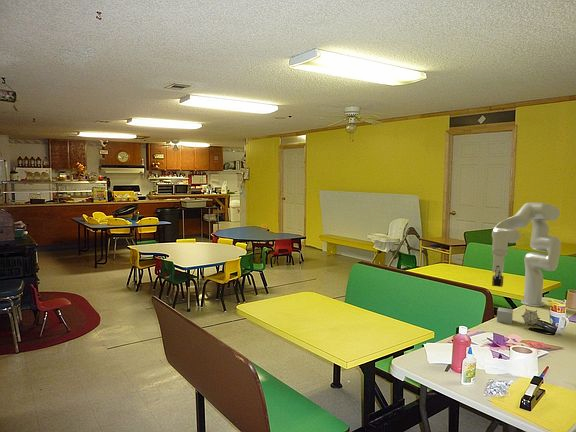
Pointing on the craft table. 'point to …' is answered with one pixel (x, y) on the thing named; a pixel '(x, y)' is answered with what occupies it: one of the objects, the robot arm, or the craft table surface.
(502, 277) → the walnut block
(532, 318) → the grey spiky ball
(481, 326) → the craft table surface
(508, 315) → the grey block
